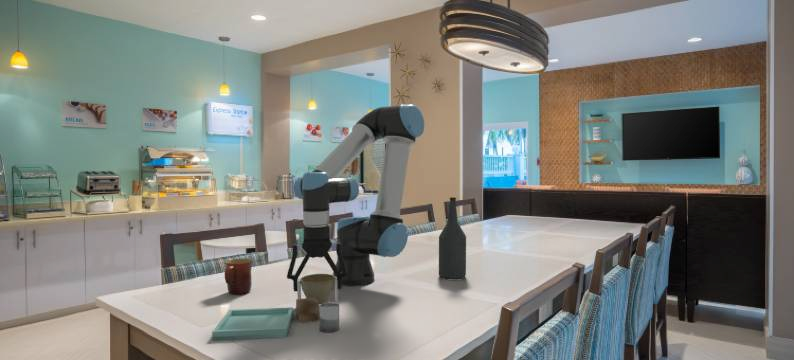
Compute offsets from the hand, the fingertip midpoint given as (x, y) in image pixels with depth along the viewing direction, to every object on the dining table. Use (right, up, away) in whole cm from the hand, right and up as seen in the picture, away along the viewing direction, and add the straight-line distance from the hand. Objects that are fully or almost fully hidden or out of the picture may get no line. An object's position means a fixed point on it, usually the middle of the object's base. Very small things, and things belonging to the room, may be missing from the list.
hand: (318, 301), depth 132 cm
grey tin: (+6, -2, -19) cm, 20 cm away
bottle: (+44, -1, +38) cm, 58 cm away
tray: (-13, -2, -17) cm, 21 cm away
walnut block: (-1, -2, -11) cm, 11 cm away
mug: (-29, -2, +14) cm, 32 cm away
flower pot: (0, -1, 0) cm, 1 cm away
